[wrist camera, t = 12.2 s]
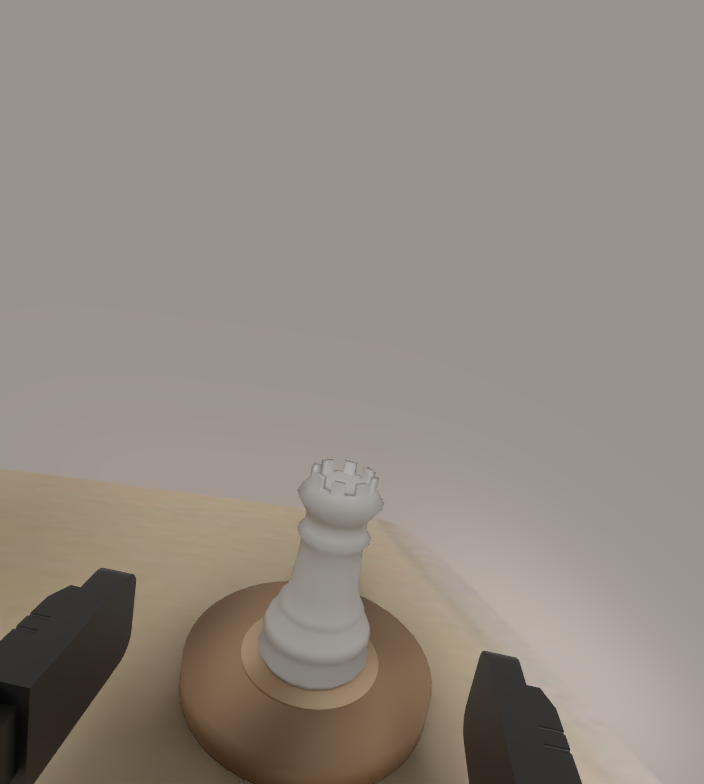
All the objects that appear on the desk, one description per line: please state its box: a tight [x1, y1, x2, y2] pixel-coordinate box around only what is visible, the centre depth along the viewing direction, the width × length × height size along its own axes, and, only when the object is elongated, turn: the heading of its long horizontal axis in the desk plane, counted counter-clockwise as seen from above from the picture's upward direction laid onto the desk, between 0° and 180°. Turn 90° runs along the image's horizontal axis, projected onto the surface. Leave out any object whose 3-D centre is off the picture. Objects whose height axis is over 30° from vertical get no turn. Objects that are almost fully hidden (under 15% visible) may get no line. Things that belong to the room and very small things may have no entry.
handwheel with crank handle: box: [179, 581, 432, 784], centre depth 22 cm, size 10×10×6 cm
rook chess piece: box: [258, 459, 384, 691], centre depth 21 cm, size 4×4×8 cm
